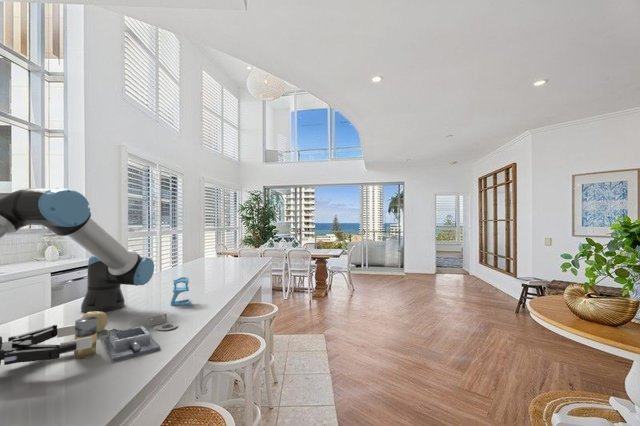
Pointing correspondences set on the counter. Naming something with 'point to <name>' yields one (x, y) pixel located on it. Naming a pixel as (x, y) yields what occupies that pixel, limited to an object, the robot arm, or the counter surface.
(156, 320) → the bracket
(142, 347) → the coupling board
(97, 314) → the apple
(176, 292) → the chair
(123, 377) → the counter surface
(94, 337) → the gold and grey cylinder
